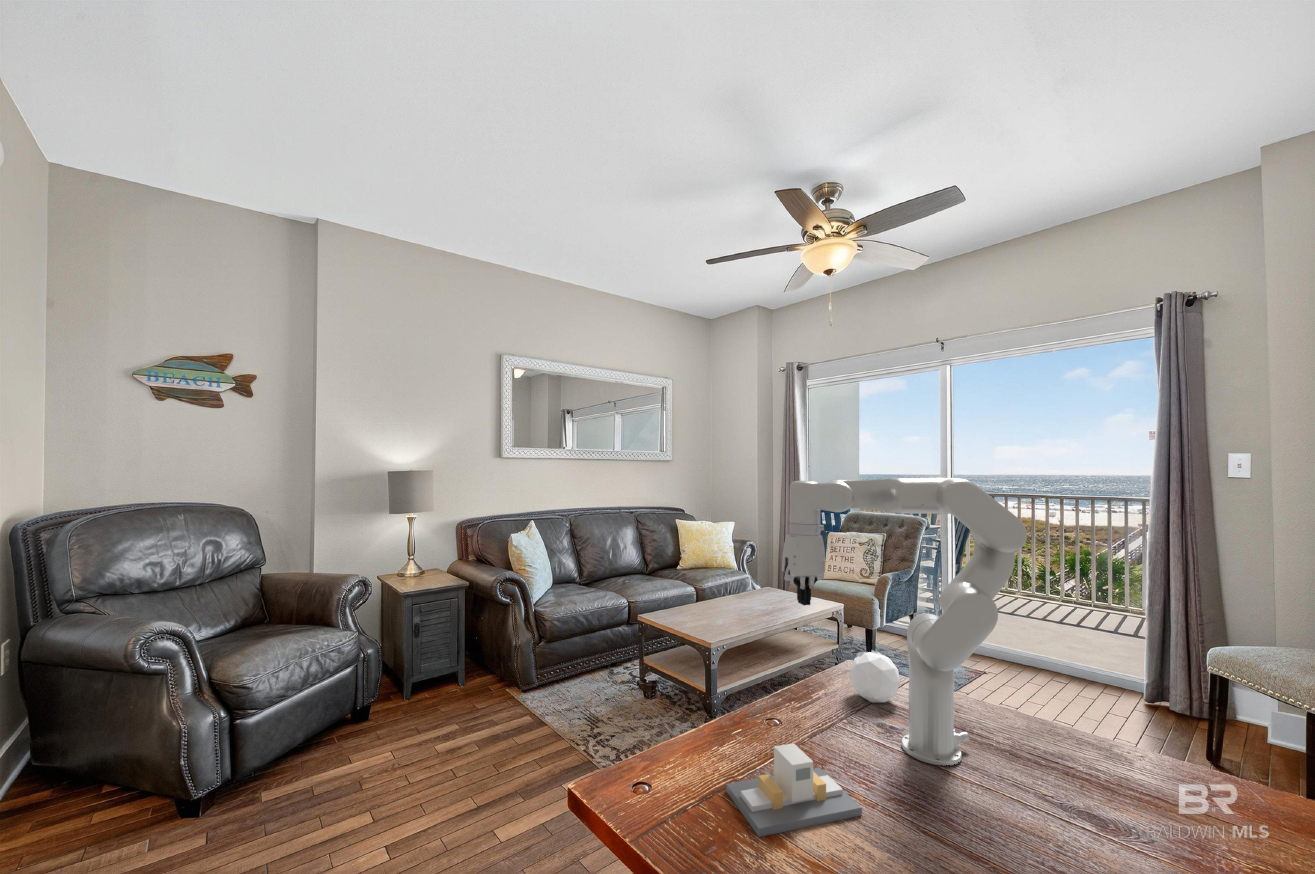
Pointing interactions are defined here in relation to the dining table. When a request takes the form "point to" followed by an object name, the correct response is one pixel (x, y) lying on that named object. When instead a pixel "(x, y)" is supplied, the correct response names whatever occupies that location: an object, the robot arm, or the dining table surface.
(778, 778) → the block
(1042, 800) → the dining table surface
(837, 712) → the dining table surface
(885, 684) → the geodesic sphere
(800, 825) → the rail board
